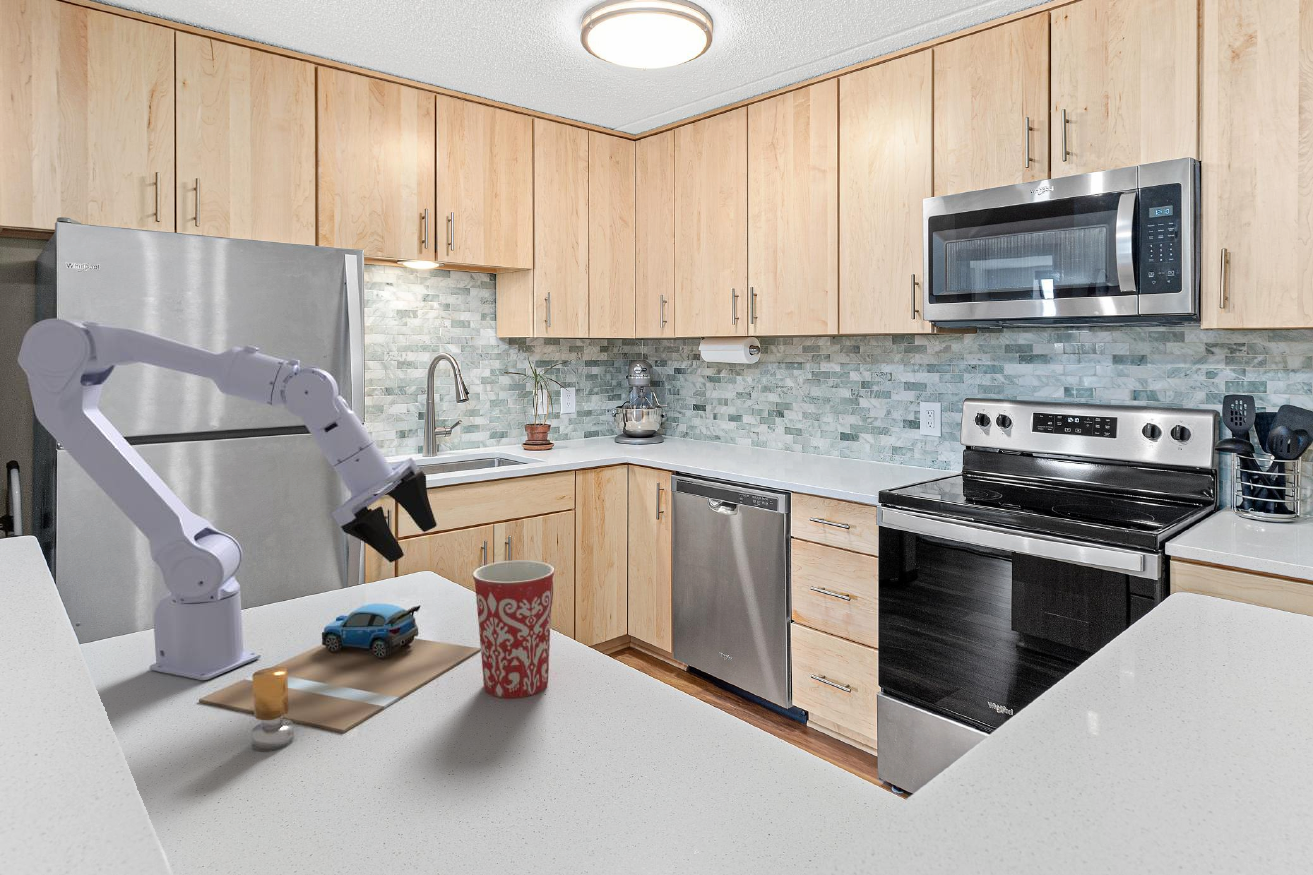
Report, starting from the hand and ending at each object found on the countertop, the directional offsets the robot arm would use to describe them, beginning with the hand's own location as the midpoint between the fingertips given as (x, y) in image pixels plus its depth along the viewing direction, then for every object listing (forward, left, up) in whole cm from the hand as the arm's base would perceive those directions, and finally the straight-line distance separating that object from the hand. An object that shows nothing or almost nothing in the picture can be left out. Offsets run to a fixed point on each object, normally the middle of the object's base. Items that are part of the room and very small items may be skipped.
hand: (414, 543), depth 101 cm
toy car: (-5, -3, -14) cm, 15 cm away
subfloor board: (-2, -10, -14) cm, 17 cm away
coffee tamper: (+3, -26, -14) cm, 30 cm away
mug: (+18, -4, -14) cm, 23 cm away
